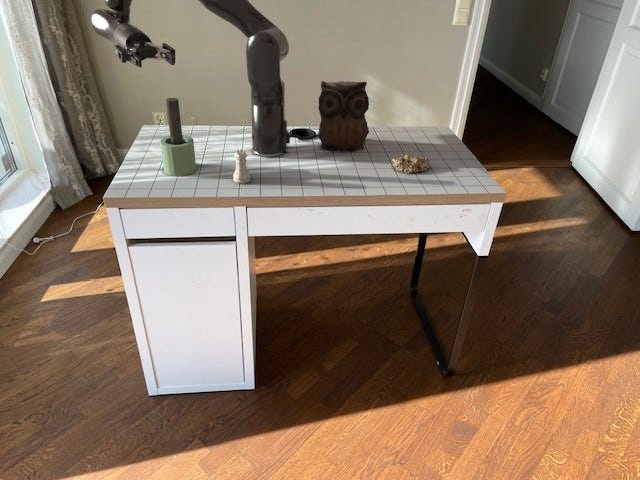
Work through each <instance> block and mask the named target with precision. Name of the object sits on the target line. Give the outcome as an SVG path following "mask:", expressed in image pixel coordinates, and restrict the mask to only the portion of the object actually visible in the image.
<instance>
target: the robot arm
mask: <svg viewBox="0 0 640 480" xmlns="http://www.w3.org/2000/svg"><path fill="white" fill-rule="evenodd" d="M103 1H104V4H105V5H106V6H107V7H108V8H109V9H107V8H101V7H99V8H96V9H93V11H92V12H91V14H90V15H89V17H90V18H89V23H90V26H91V28H92V30H93V32H94V33H95V34H96V35H98V36H99V37H101V38H103V39H105V40H108V41H111V42H113V43H114V53H115V54H114V55H115V57H116V58H117V59H118V60H119V61H120V62H121V63H123V64H125V63H127V62H128V63H130V64H133V65H134V66H136V67H137V68H142V67H143V66H142V65H143V64H142V62H143V61H145V60H155V61H158V62H159V61H162V60H163V61H165V62H166V63H168V64H169V65H170V66H175V64H176V49H175V48H174V47H172V46H171V45H169V44H167V42H166V43H165V42H162V43H161V46H160V45H158V44H155V43H153V42H152V40H151V38H150V37H149V36H148V35H147V33H145V32H143V30H141V29H139V28H138V27H137V26H135V25H133V24H132V23H131V8H132V3H133V1H134V0H103ZM197 1H198V2H199V3H200V4H201V5H202V6H203V7H204V8H205V9H206V10H207V11H209V12H210V13H212V14H213V15H215V16H216V17H218V18H220V19H221V20H223V21H225V22H227V23H228V24H230V25H231V26H233V27H235V28H236V29H237V30H238V31H240V32H241V33H242V35H244V36H245V37H246V39H247V41H246V46H245V60H246V74H247V81H248V84H249V86H250V105H251V107H250V108H251V110H250V111H251V144H252V148H251V151H252V153H253V154H255V155H256V156H260V157H264V158H265V157H266V158H272V157H277V156H278V157H279V156H281V155H283V154H287V145H288V144H289V145H290V144H291V138H296V139H297V140H299V141H305V140H311V139H315V138H319V137H318V133H316V134H313V135H309V136H303V137H301V136H300V135H299V134H291V133H290V132H289V130H288V122H287V120H286V118H285V117H286V116H285V110H286V109H285V107H286V106H285V105H286V104H285V102H286V101H285V97H286V96H285V95H286V94H285V93H286V86H285V85H286V84H285V82H284V80H283V79H282V78H281V62H282V61H284V60H285V59H286V58H287V56H288V55H289V52H290V45H289V39H288V37H287V36H286V34H285V32H283V31H282V29H280V28H279V27H278V26H277V25H275V24H274V23H273V22H272V21H271V20H270V19H268V18H267V17H266V16H265V15H264V14H262V13H261V12H260V11H259V10H258V9H257V8H256V7H255V6H254V5H253V4H252V3H251V1H249V0H197Z"/></svg>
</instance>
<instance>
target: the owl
mask: <svg viewBox="0 0 640 480" xmlns="http://www.w3.org/2000/svg"><path fill="white" fill-rule="evenodd" d="M367 84H368V82H367V81H349V80H348V81H344V80H339V81H324V80H322V81H320V89H321V92H320V94H319V96H318V112H319V115H320V123H319V125H318V126H319V127H318V132H317V134H318V137H317V138H318V139H319V141H320V143H321V146H320V149H322V150H325V151H329V152H341V153H343V152H350V153H351V152H356V151H358V150H361V149H364V145H365V143H366V140H367V137H368V135H369V134H370V130H369V126H368V122H367V119H366V114H367V111H368V110H369V106H370V100H369V98H370V97H369V96H368V93H367V91H366V87H367Z"/></svg>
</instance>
